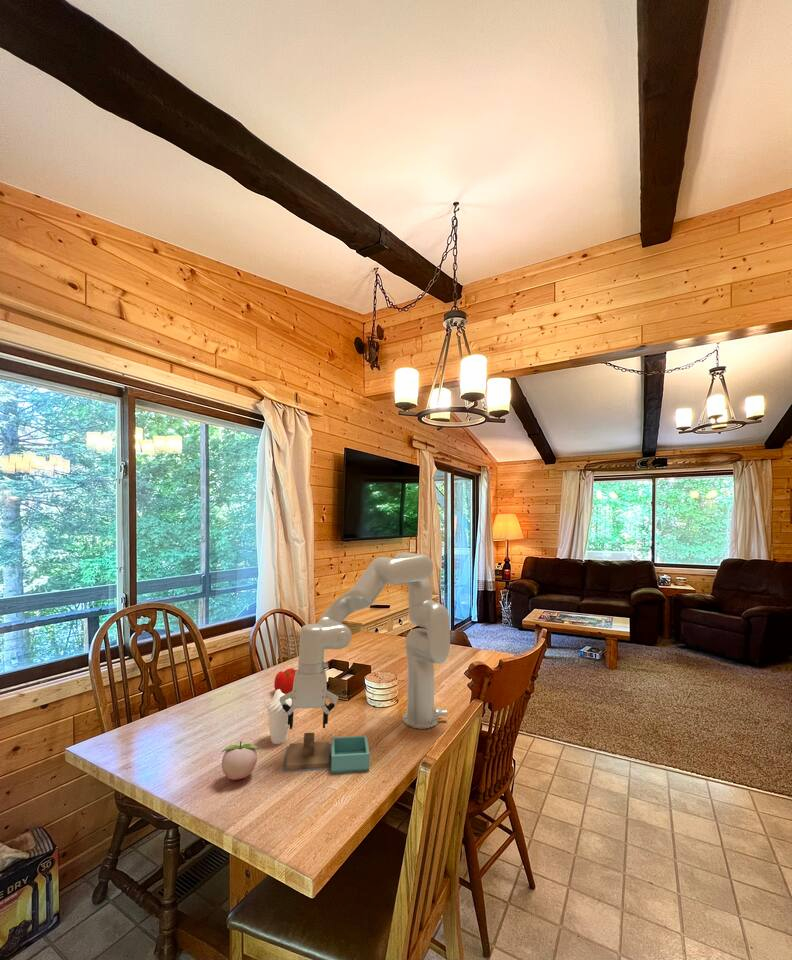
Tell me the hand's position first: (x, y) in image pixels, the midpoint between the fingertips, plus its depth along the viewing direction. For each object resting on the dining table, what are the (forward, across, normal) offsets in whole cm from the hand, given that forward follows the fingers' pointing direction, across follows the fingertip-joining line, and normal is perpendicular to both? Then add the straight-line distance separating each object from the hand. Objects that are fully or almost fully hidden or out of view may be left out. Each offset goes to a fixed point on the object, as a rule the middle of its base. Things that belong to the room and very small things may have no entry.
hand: (307, 726), depth 129 cm
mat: (+9, -1, 0) cm, 9 cm away
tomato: (+9, +10, -49) cm, 51 cm away
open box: (+9, -13, +4) cm, 16 cm away
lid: (+9, -1, 0) cm, 9 cm away
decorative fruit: (+10, +17, +9) cm, 22 cm away
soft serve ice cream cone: (+10, +9, -11) cm, 18 cm away
